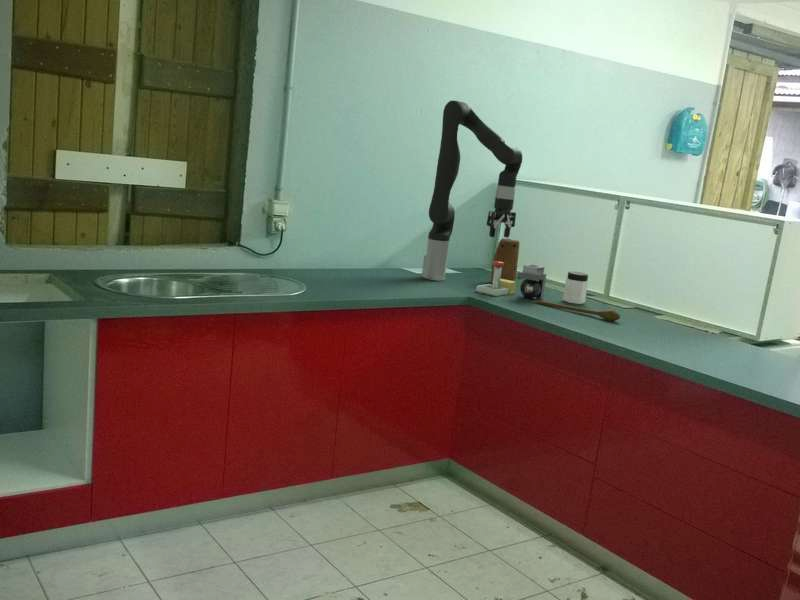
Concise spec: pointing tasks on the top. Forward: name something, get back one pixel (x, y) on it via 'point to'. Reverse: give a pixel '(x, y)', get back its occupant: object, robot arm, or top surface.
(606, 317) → the brown wooden spoon
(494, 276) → the pin
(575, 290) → the jar
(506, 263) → the block
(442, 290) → the top surface
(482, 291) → the tray
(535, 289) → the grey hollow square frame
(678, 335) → the top surface
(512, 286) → the block
